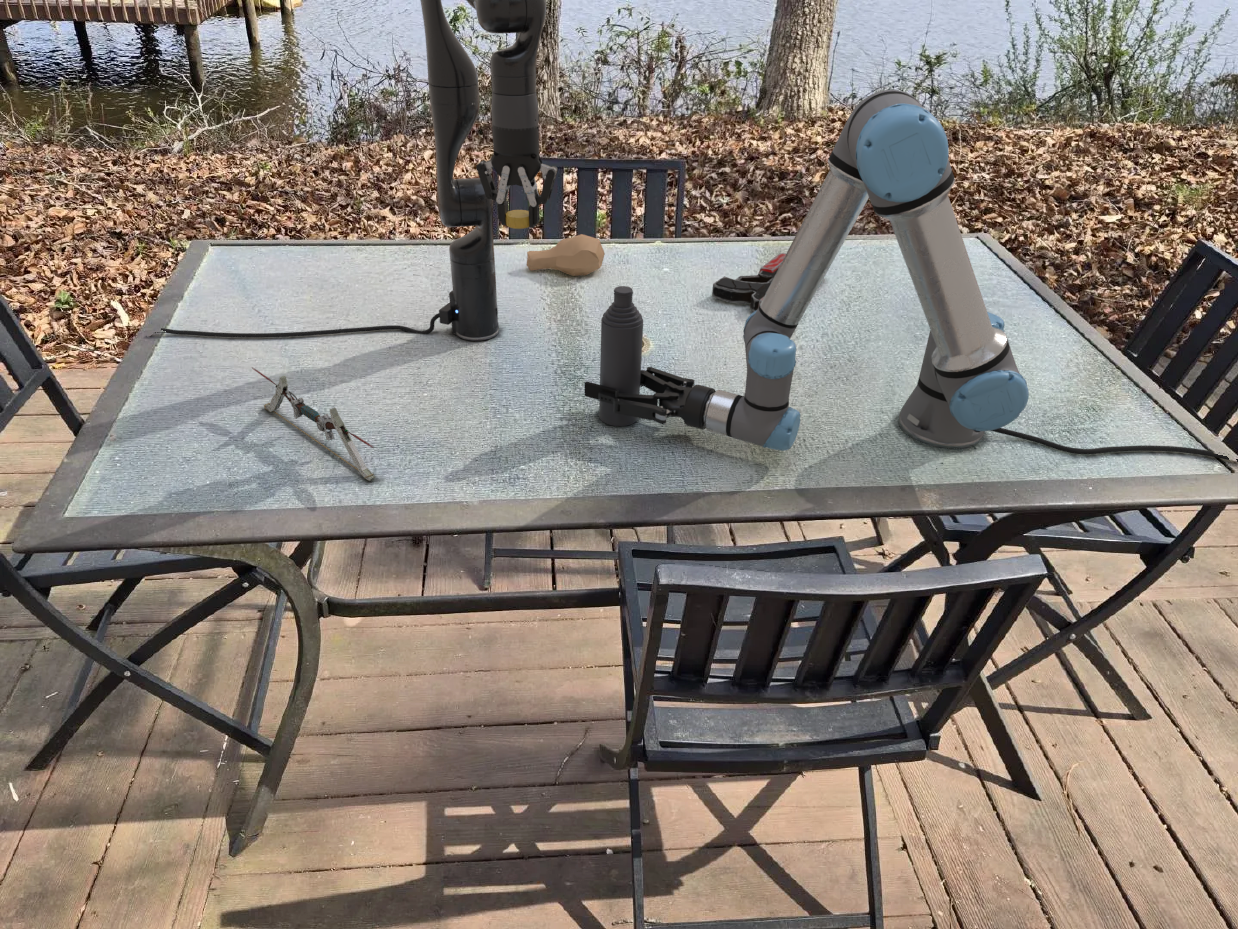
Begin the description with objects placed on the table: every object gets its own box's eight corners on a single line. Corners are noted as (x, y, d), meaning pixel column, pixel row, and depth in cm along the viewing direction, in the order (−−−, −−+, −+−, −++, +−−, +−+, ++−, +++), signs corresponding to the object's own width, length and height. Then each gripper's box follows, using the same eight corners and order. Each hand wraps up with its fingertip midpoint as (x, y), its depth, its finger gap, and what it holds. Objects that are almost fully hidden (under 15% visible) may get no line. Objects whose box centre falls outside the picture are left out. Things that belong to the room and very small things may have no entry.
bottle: (592, 411, 165) (594, 285, 152) (626, 403, 168) (632, 278, 154) (610, 429, 160) (614, 300, 146) (645, 421, 163) (652, 293, 149)
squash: (606, 279, 220) (601, 247, 214) (527, 286, 222) (521, 255, 215) (606, 257, 228) (602, 226, 222) (531, 264, 229) (524, 233, 223)
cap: (505, 228, 149) (504, 217, 148) (506, 220, 153) (506, 209, 152) (531, 228, 149) (531, 217, 148) (532, 220, 153) (532, 209, 152)
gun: (708, 284, 207) (784, 305, 199) (760, 245, 229) (831, 262, 221) (706, 302, 209) (781, 323, 201) (758, 261, 231) (828, 278, 223)
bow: (385, 483, 144) (378, 432, 138) (376, 488, 143) (368, 436, 137) (265, 401, 165) (254, 353, 160) (256, 404, 164) (245, 356, 158)
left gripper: (465, 123, 140) (472, 228, 149) (552, 129, 138) (554, 235, 147) (479, 113, 146) (486, 215, 155) (563, 118, 144) (564, 221, 153)
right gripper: (686, 455, 149) (569, 421, 157) (729, 403, 164) (620, 374, 172) (689, 417, 144) (568, 384, 153) (733, 367, 160) (621, 340, 168)
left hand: (519, 224), depth 151 cm, fingers closed on cap, 4 cm apart
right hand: (596, 379), depth 162 cm, fingers closed on bottle, 7 cm apart
